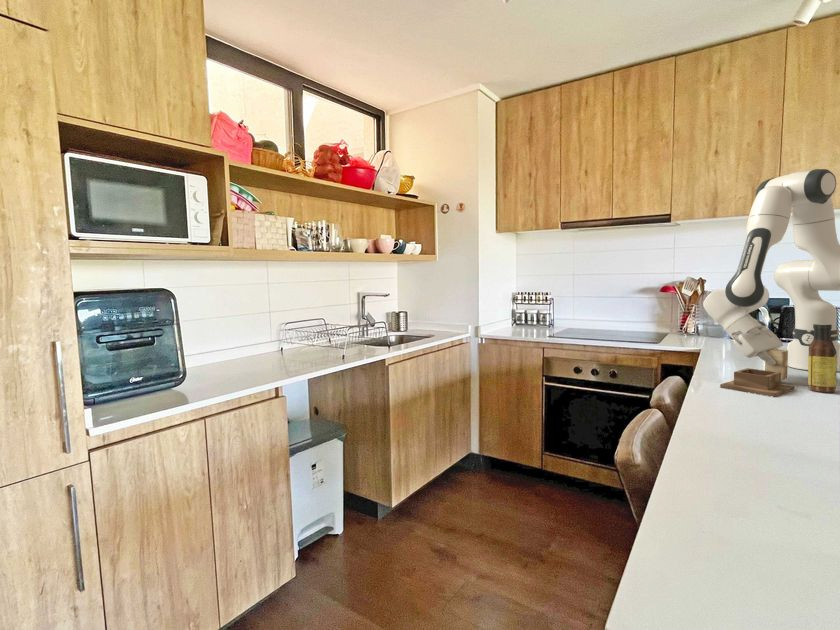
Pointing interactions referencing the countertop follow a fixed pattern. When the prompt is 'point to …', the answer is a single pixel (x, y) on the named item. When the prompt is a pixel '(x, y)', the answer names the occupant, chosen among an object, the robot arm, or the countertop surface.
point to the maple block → (778, 362)
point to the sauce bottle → (822, 360)
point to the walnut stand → (757, 382)
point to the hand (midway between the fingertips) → (778, 363)
